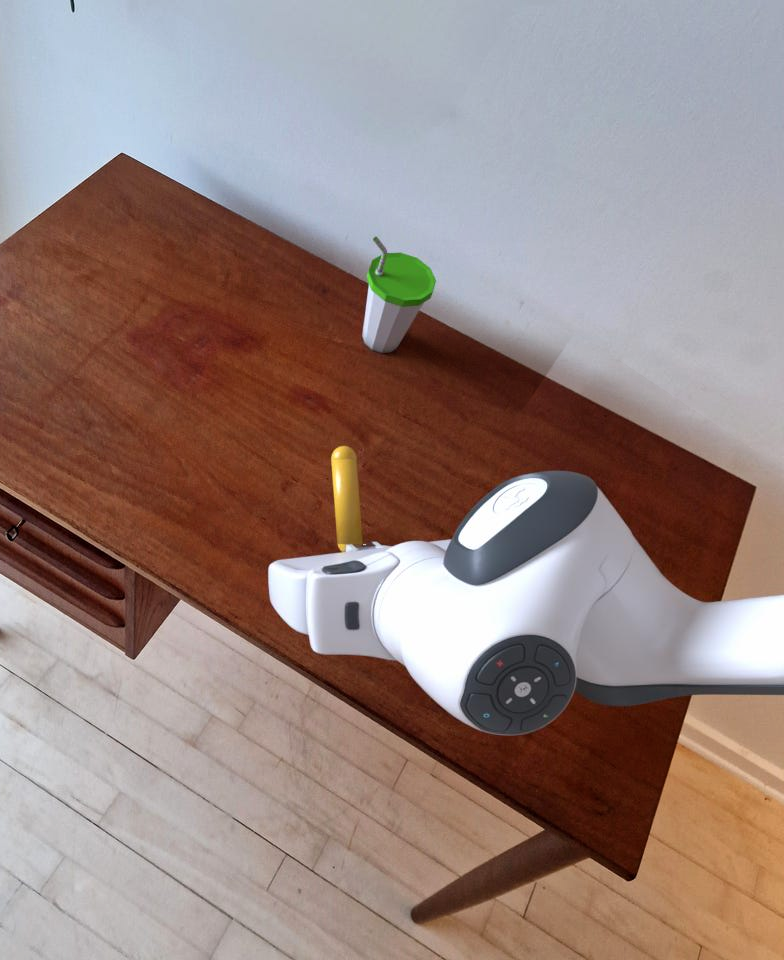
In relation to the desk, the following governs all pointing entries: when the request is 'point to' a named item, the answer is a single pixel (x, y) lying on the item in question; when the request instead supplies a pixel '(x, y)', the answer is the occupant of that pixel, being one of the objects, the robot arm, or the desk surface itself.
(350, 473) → the yellow lever knob
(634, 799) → the desk surface
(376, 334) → the cup
